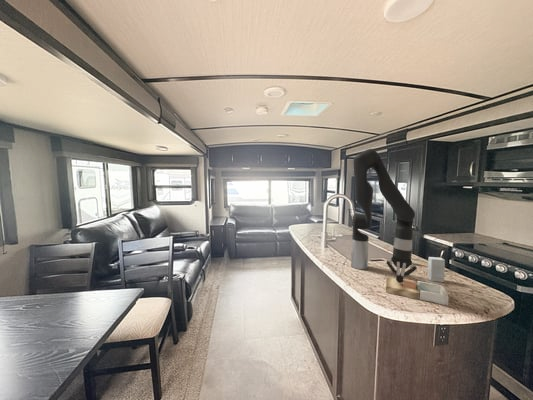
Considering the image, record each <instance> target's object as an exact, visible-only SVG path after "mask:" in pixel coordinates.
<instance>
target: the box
mask: <svg viewBox="0 0 533 400" xmlns="http://www.w3.org/2000/svg"><path fill="white" fill-rule="evenodd" d="M418 282H420V283H421V284H423V285H424V286H425V287H426V288H427V289H429V291H430V292H427V291H422V290H420V291H419V300H420V301H425V302H429V303H432V304H433V303H434V304H438V305H442V306H447V307H448V306H449V295H448V293H447V291H446V289H445V287H444V285H442V284H437V283H434V282H433V283H431V282H426V281H422V280H417V281H416V283H418Z"/></svg>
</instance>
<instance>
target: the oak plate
mask: <svg viewBox="0 0 533 400" xmlns="http://www.w3.org/2000/svg"><path fill="white" fill-rule="evenodd" d="M415 283H416V284H417V281H415ZM385 284H386V285H385V293H387V294H392V295H395V296H396V295H397V296H401V297H405V298H410V299H415V300H420V298H419V290H418V289H417V287H416V289H412V288H407V287H403V283H402V282H401V283H398V281H396V278H393V277H387V276H386V281H385Z"/></svg>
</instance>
